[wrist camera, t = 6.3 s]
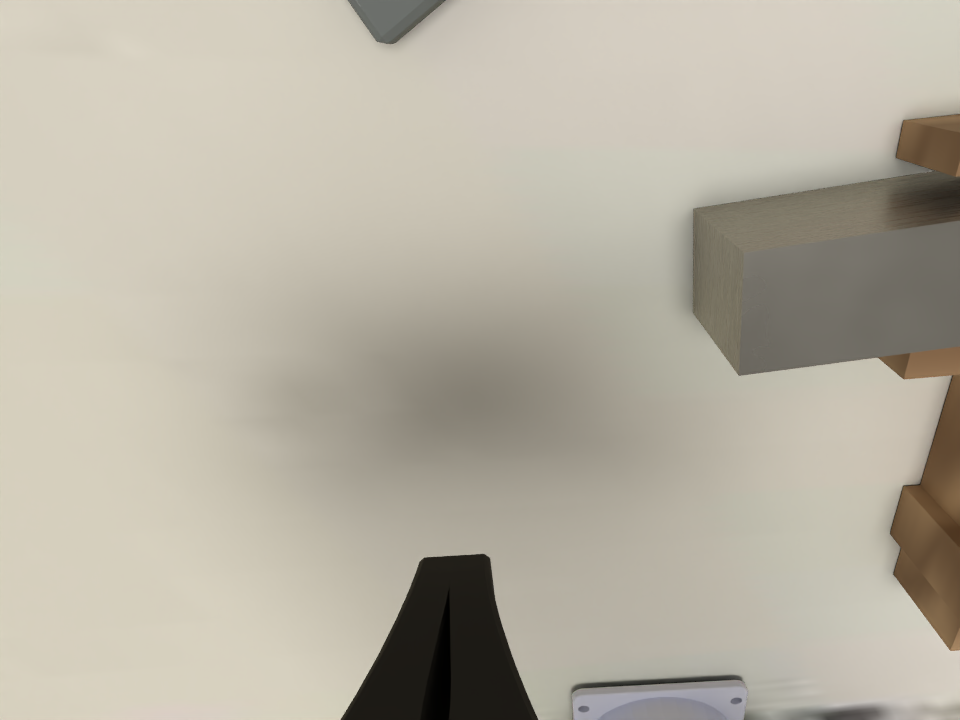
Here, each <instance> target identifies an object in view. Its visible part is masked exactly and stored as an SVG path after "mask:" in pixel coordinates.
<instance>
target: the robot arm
mask: <svg viewBox="0 0 960 720" xmlns="http://www.w3.org/2000/svg"><path fill="white" fill-rule="evenodd" d="M747 696H748V690H747V687H746V685H745V683H744V682H743V681H740V680H723V681H705V682H688V683H670V684H652V685H634V686H616V687H599V688H582V689H578V690H575V691H574V692H573V693H572V709H573V720H744V715H745V708H746V702H747ZM341 720H538V718H537V716H536V714H535V712H534V709H533V707H532V705H531V702H530V700H529V698H528V695H527V693H526V691H525V688H524V686H523V683H522V681H521V678H520V676H519V673H518V670H517V668H516V665H515V662H514V660H513V657H512V654H511V651H510V648H509V645H508V642H507V639H506V636H505V633H504V630H503V627H502V624H501V620H500V617H499V613H498V609H497V605H496V601H495V595H494V587H493V579H492V570H491V562H490V558H489V557H488V556H486V555H485V554H476V555H460V556H443V557H427V558H423V559H422V560H421V561H420V562H419V565H418V568H417V571H416V574H415V577H414V579H413V582H412V584H411V587H410V589H409V592H408V594H407V596H406V599H405V601H404V603H403V605H402V608H401V610H400V612H399V614H398V617H397V619H396V621H395V623H394V625H393V627H392V629H391V631H390V633H389V635H388V637H387V639H386V641H385V643H384V645H383V647H382V649H381V651H380V653H379V655H378V657H377V658H376V660H375V662H374V664H373V666H372V667H371V669H370V671H369V673H368V674H367V676H366V678H365V680H364V681H363V683H362V685H361V687H360V689H359V690H358V692H357V694H356V696H355V697H354V699H353V701H352V702H351V704H350V705H349V707H348V709H347V710H346V712H345V714H344V715H343V717H342V718H341Z"/></svg>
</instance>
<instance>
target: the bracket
mask: <svg viewBox="0 0 960 720" xmlns="http://www.w3.org/2000/svg"><path fill="white" fill-rule="evenodd" d="M348 1H349V3H350V4H351V6H352V7H353V8H354V10H355V11H356V13H357V14H358V15H359V17H360V18H361V20H362V21H363V23H364V24H365V25H366V27H367V28H368V30H369V31H370V33H371V34H372V35H373V37H374V38H375V40H376V41H377V42H381V43H386V44H393V43H396V42H397V41H398V40H399V39H400V38H402V37H403V36H404V35H405V34H406V33H407V32H409V31H410V30H411V29H412V28H413V27H415V26H416V25H417V24H418V23H419V22H421V21H422V20H423V19H424V18H425V17H426V16H428V15H429V14H430V13H431V12H432V11H434V10H435V9H436V8H437V7H438V6H440V5H441V4H442V3H443V2H444V1H445V0H348Z"/></svg>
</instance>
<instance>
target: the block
mask: <svg viewBox="0 0 960 720" xmlns="http://www.w3.org/2000/svg"><path fill="white" fill-rule="evenodd" d="M693 313H694V315H695V316H696V317H697V319H698V320H699V322H700V323H701V324H702V326H703V327H704V328H705V330H706V331H707V333H708V334H709V335H710V337H711V338H712V339H713V341H714V342H715V344H716V345H717V346H718V348H719V349H720V350H721V352H722V353H723V355H724V356H725V357H726V359H727V360H728V361H729V363H730V364H731V366H732V367H733V368H734V370H735V371H736V372H737V374H738V375H739V376H741V375H748V374H756V373H763V372H771V371H778V370H786V369H793V368H801V367H809V366H816V365H824V364H831V363H839V362H846V361H854V360H861V359H869V358H877V357H884V356H892V355H899V354H907V353H914V352H922V351H929V350H937V349H944V348H952V347H960V176H959V177H955V176H952V175H948V174H945V173H942V172H939V171H932V172H926V173H919V174H913V175H906V176H900V177H894V178H887V179H881V180H874V181H868V182H862V183H855V184H849V185H842V186H836V187H830V188H823V189H817V190H810V191H804V192H798V193H791V194H785V195H778V196H772V197H766V198H759V199H753V200H746V201H740V202H734V203H727V204H721V205H714V206H708V207H702V208H695V209H693Z"/></svg>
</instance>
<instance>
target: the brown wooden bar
mask: <svg viewBox="0 0 960 720" xmlns="http://www.w3.org/2000/svg"><path fill="white" fill-rule="evenodd" d="M896 158H898V159H901V160H904V161H907V162H910V163H913V164H917V165H920V166H923V167H926V168H929V169H932V170H936V171H939V172H942V173H945V174H948V175H952V176H955V177H959V176H960V114H958V115H949V116H940V117H930V118H921V119H912V120H904V122H903V126H902V131H901V136H900V141H899V146H898V151H897V155H896ZM878 358H879V359H880V360H881V361H883V362H884V363H885V364H886V365H887V366H888V367H890V368H891V369H892V370H893V371H894V372H896V373H897V374H898V375H899V376H900V377H902V378H903V379H913V378H925V377H937V376H949V375H953V377H952V381H951V384H950V387H949V391H948V394H947V397H946V401H945V404H944V407H943V411H942V414H941V417H940V421H939V424H938V427H937V431H936V434H935V437H934V441H933V444H932V447H931V451H930V454H929V457H928V461H927V464H926V467H925V471H924V474H923V478H922V481H921V484H920V485H914V486H904V487H903V490H902V494H901V497H900V501H899V504H898V508H897V511H896V515H895V518H894V522H893V525H892V529H891V532H890V534H891V536H892V537H893V538H894V539H895V541H896V542H897V543H898V544H899V546H900V547H901V551H900V554H899V558H898V561H897V564H896V568H895V571H894V576H895V577H896V578H897V580H898V581H899V582H900V584H901V585H902V586H903V588H904V589H905V590H906V592H907V593H908V595H909V596H910V597H911V599H912V600H913V601H914V603H915V604H916V605H917V607H918V608H919V609H920V611H921V612H922V613H923V615H924V616H925V617H926V619H927V620H928V621H929V623H930V624H931V625H932V627H933V628H934V629H935V631H936V632H937V633H938V635H939V636H940V638H941V639H942V640H943V642H944V643H945V644H946V646H947V647H948V648H949V650H950V651H956V650H960V347H952V348H944V349H937V350H929V351H922V352H914V353H907V354H899V355H892V356H884V357H878Z"/></svg>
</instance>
